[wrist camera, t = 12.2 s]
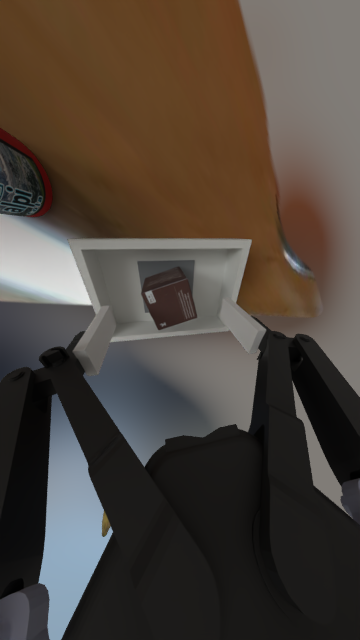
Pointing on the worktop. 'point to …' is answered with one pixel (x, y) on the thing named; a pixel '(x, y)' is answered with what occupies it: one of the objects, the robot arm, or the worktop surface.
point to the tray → (152, 258)
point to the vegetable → (105, 525)
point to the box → (169, 298)
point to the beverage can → (22, 180)
